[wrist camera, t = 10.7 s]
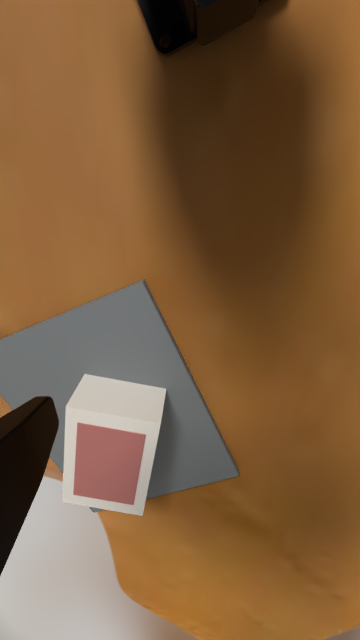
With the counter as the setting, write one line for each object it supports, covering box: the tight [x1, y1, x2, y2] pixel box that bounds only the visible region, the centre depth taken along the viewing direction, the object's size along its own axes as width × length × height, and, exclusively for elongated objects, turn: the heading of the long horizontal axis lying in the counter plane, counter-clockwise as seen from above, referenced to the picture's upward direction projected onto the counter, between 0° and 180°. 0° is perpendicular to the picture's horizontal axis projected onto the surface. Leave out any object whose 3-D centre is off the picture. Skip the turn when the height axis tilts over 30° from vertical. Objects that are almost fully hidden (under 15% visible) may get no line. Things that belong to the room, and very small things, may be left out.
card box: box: [62, 374, 166, 516], centre depth 24 cm, size 6×9×4 cm, turn 170°
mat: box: [0, 280, 239, 512], centre depth 25 cm, size 18×14×1 cm
